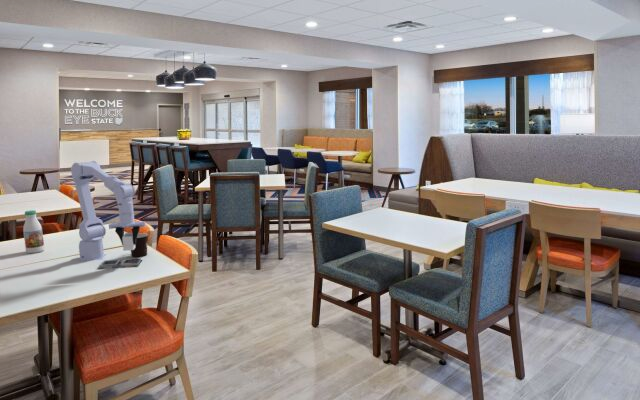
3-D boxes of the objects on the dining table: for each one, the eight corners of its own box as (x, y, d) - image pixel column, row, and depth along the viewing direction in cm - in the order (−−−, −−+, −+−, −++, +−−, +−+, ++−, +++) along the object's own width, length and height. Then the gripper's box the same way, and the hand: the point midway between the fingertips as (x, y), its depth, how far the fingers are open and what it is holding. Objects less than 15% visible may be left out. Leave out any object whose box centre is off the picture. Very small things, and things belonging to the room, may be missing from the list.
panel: (97, 270, 193) (97, 266, 193) (104, 263, 203) (104, 259, 202) (137, 268, 195) (137, 264, 195) (142, 261, 205) (142, 257, 205)
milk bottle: (22, 252, 222) (16, 212, 218) (37, 248, 229) (32, 209, 225) (33, 254, 219) (28, 213, 215) (48, 250, 226) (43, 210, 222)
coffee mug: (142, 259, 207) (140, 238, 205) (125, 259, 209) (123, 237, 207) (156, 252, 218) (155, 231, 216) (140, 251, 220) (138, 231, 218)
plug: (123, 250, 196) (121, 234, 195) (125, 248, 200) (124, 232, 198) (133, 250, 196) (131, 234, 195) (135, 247, 200) (134, 231, 199)
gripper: (105, 215, 191) (108, 247, 193) (142, 214, 193) (145, 245, 195) (110, 212, 197) (113, 243, 200) (145, 210, 200) (148, 241, 202)
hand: (129, 244), depth 198 cm, fingers closed on plug, 4 cm apart
